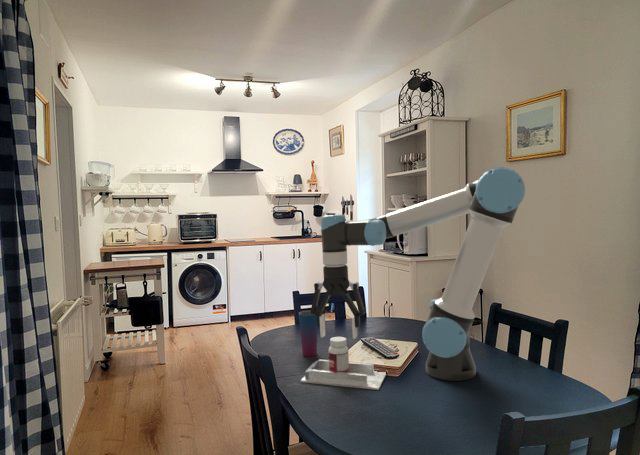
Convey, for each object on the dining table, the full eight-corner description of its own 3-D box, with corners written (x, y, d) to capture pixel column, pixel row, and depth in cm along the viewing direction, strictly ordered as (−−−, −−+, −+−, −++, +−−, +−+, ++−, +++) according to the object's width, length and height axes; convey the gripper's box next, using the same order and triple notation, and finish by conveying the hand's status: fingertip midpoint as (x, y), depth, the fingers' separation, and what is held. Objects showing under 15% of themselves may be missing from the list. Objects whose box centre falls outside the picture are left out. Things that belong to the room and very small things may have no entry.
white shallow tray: (387, 372, 147) (387, 362, 147) (378, 390, 133) (378, 379, 133) (315, 366, 154) (315, 357, 154) (300, 382, 141) (300, 372, 141)
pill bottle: (326, 373, 146) (325, 337, 146) (343, 369, 149) (342, 334, 148) (334, 379, 141) (332, 343, 140) (352, 376, 143) (351, 340, 142)
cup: (297, 356, 165) (295, 314, 164) (304, 350, 171) (303, 310, 170) (314, 358, 162) (313, 315, 161) (321, 352, 168) (320, 311, 168)
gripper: (373, 263, 142) (376, 334, 144) (305, 263, 150) (309, 332, 151) (368, 266, 135) (371, 342, 137) (297, 267, 142) (300, 338, 144)
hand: (338, 336), depth 144 cm, fingers open, 10 cm apart
